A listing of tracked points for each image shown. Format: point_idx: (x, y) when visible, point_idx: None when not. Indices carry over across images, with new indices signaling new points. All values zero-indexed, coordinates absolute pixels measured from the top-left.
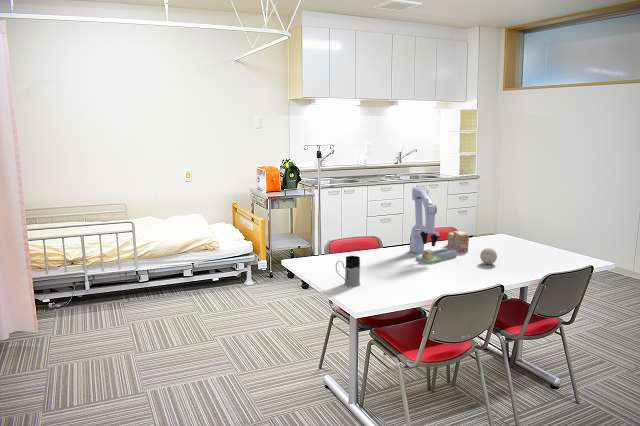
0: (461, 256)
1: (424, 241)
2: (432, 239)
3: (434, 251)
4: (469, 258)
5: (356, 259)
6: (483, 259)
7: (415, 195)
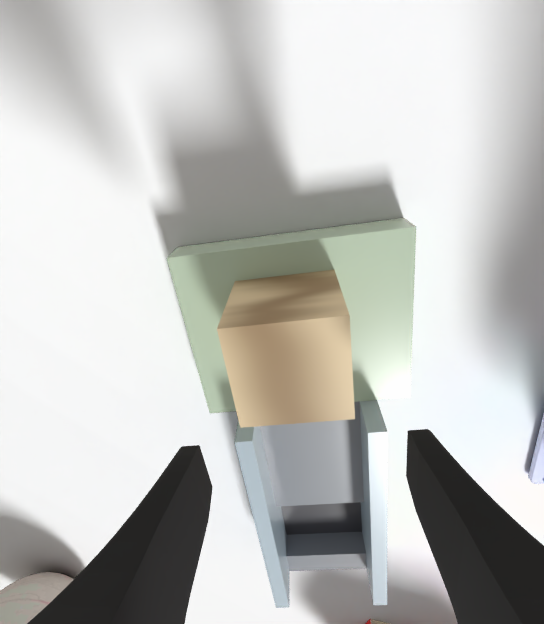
0: None
1: (430, 488)
2: (82, 597)
3: (368, 479)
4: (214, 580)
5: None
6: (13, 595)
7: None
